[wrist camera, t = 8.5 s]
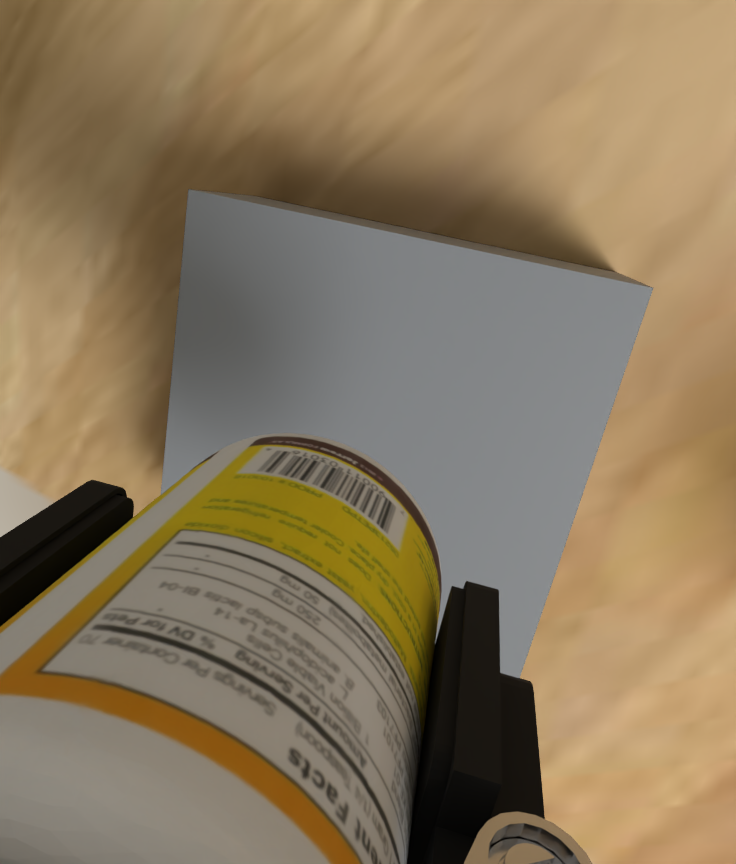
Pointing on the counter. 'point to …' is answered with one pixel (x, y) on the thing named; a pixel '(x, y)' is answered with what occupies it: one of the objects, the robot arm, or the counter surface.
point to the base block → (407, 374)
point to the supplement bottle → (229, 672)
